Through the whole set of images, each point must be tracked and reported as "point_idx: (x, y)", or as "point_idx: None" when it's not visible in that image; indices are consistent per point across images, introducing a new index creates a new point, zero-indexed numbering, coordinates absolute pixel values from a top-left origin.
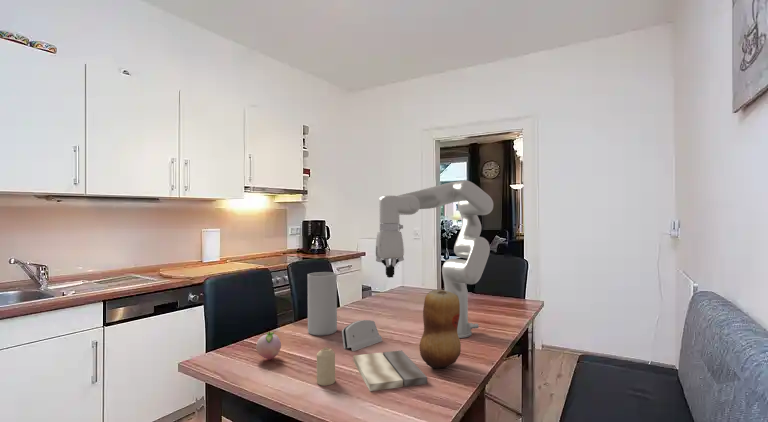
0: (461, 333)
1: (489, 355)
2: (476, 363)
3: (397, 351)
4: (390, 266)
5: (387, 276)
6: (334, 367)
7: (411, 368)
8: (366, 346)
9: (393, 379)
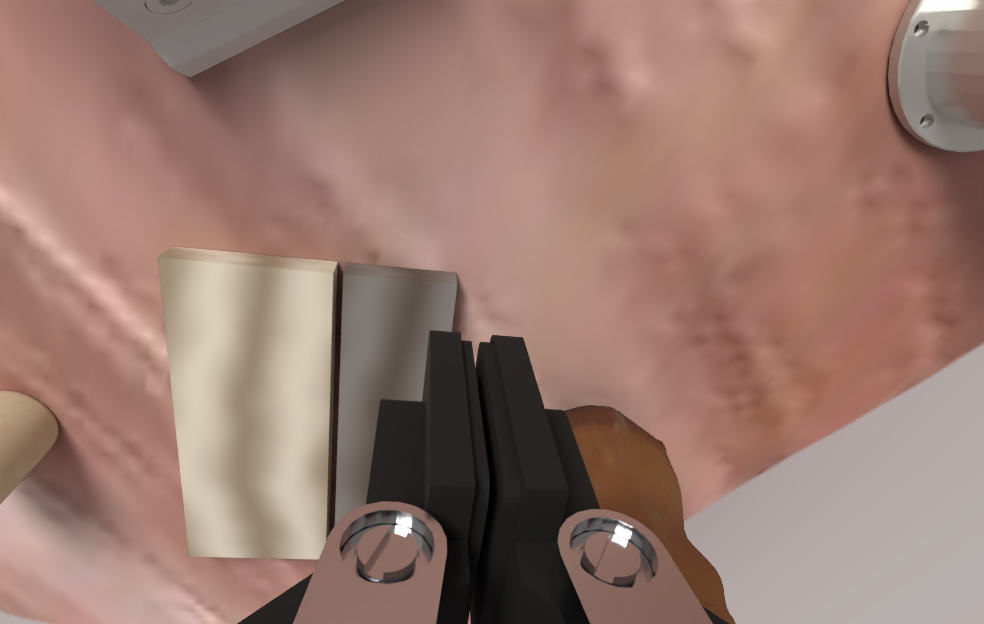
0: (969, 127)
1: (822, 408)
2: (706, 457)
3: (427, 291)
4: (506, 572)
5: (426, 367)
6: (16, 485)
7: None
8: (301, 21)
9: (292, 547)
